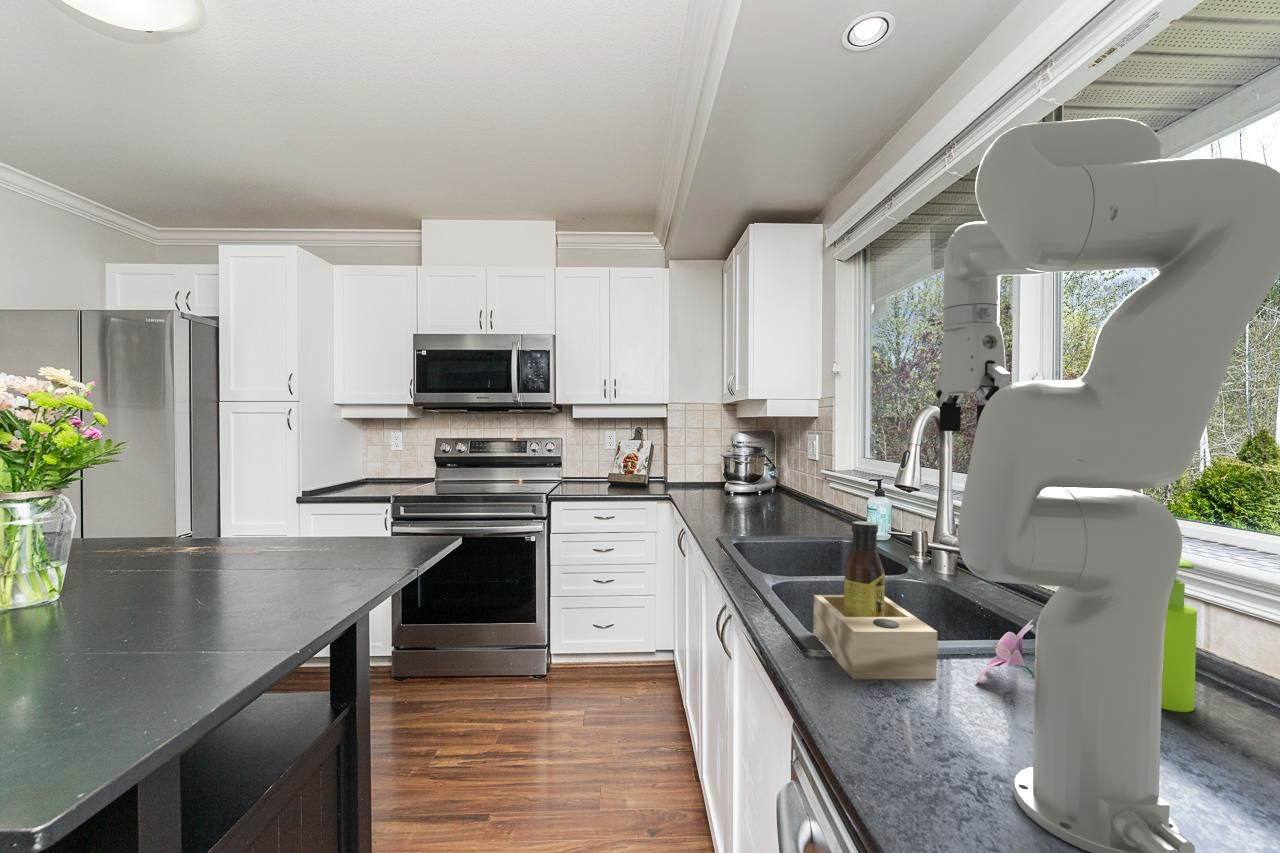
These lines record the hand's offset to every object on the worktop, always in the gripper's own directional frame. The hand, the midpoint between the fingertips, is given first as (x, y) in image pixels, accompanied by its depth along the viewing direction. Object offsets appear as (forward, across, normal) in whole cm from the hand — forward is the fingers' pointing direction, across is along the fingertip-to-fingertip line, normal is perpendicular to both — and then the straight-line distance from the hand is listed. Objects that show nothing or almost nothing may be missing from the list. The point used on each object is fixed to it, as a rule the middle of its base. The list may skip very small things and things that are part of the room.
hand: (967, 431), depth 89 cm
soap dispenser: (+36, -12, -21) cm, 44 cm away
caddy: (+36, +4, +13) cm, 39 cm away
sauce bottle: (+36, +6, +13) cm, 38 cm away
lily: (+37, -6, -3) cm, 37 cm away
